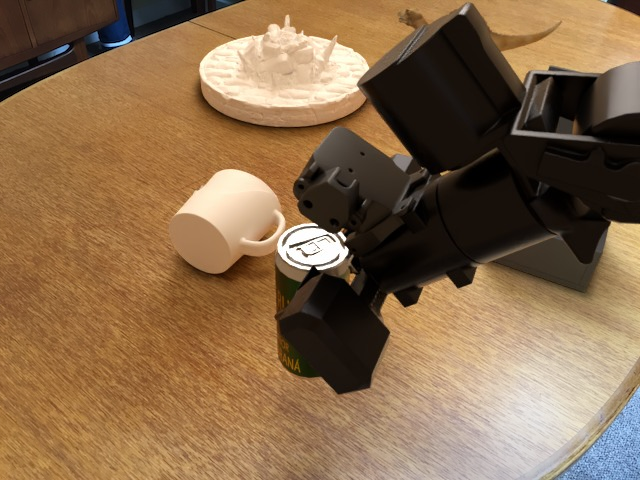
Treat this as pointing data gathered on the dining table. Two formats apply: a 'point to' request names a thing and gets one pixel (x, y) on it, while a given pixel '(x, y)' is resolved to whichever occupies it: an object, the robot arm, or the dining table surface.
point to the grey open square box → (554, 262)
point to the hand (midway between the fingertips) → (295, 294)
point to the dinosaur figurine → (502, 41)
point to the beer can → (290, 269)
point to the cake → (283, 78)
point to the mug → (227, 221)
